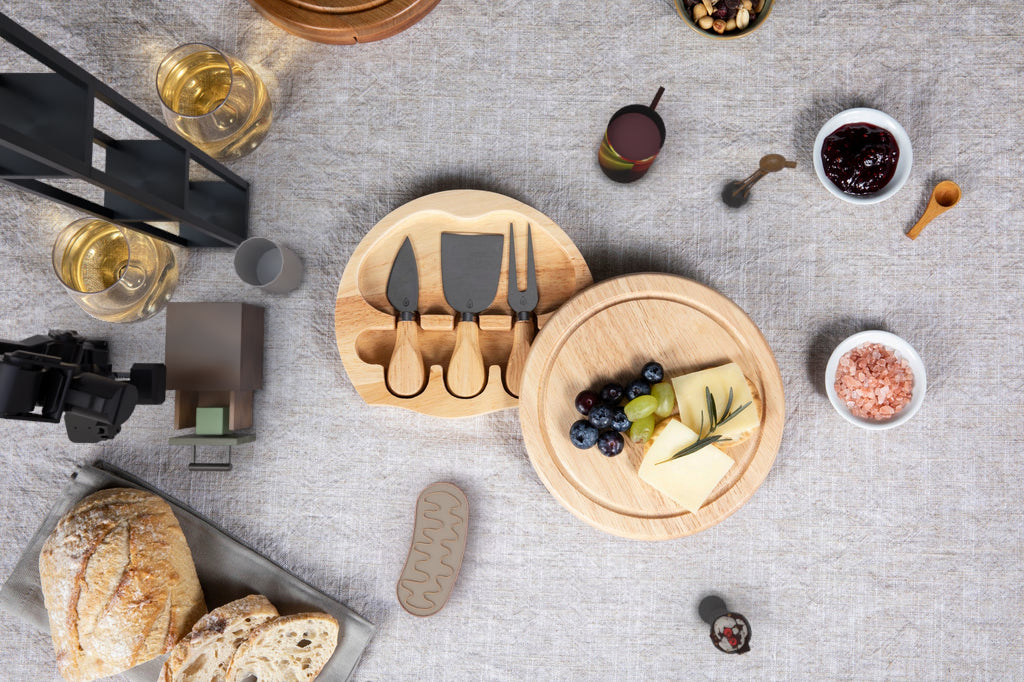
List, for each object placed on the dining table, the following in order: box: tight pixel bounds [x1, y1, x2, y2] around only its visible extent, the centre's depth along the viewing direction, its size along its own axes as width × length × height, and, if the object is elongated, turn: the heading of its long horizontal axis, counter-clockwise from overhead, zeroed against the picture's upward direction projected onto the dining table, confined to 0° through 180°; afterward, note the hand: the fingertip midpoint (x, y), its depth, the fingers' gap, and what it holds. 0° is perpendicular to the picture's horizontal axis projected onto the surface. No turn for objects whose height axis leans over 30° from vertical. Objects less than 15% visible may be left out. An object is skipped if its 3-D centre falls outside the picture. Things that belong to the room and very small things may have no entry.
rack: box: [0, 11, 250, 250], centre depth 87 cm, size 12×12×66 cm
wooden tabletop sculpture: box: [720, 153, 798, 209], centre depth 109 cm, size 6×5×20 cm
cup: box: [232, 236, 305, 295], centre depth 115 cm, size 8×8×10 cm
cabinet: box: [164, 301, 265, 391], centre depth 114 cm, size 15×13×10 cm
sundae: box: [698, 595, 753, 656], centre depth 108 cm, size 7×7×15 cm
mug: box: [597, 85, 667, 184], centre depth 114 cm, size 10×14×12 cm
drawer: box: [168, 390, 257, 473], centre depth 114 cm, size 18×11×8 cm, turn 0°
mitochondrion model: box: [395, 481, 470, 619], centre depth 114 cm, size 23×10×5 cm, turn 167°
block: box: [195, 406, 235, 435], centre depth 114 cm, size 4×4×4 cm
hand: (133, 382), depth 107 cm, fingers open, 9 cm apart
